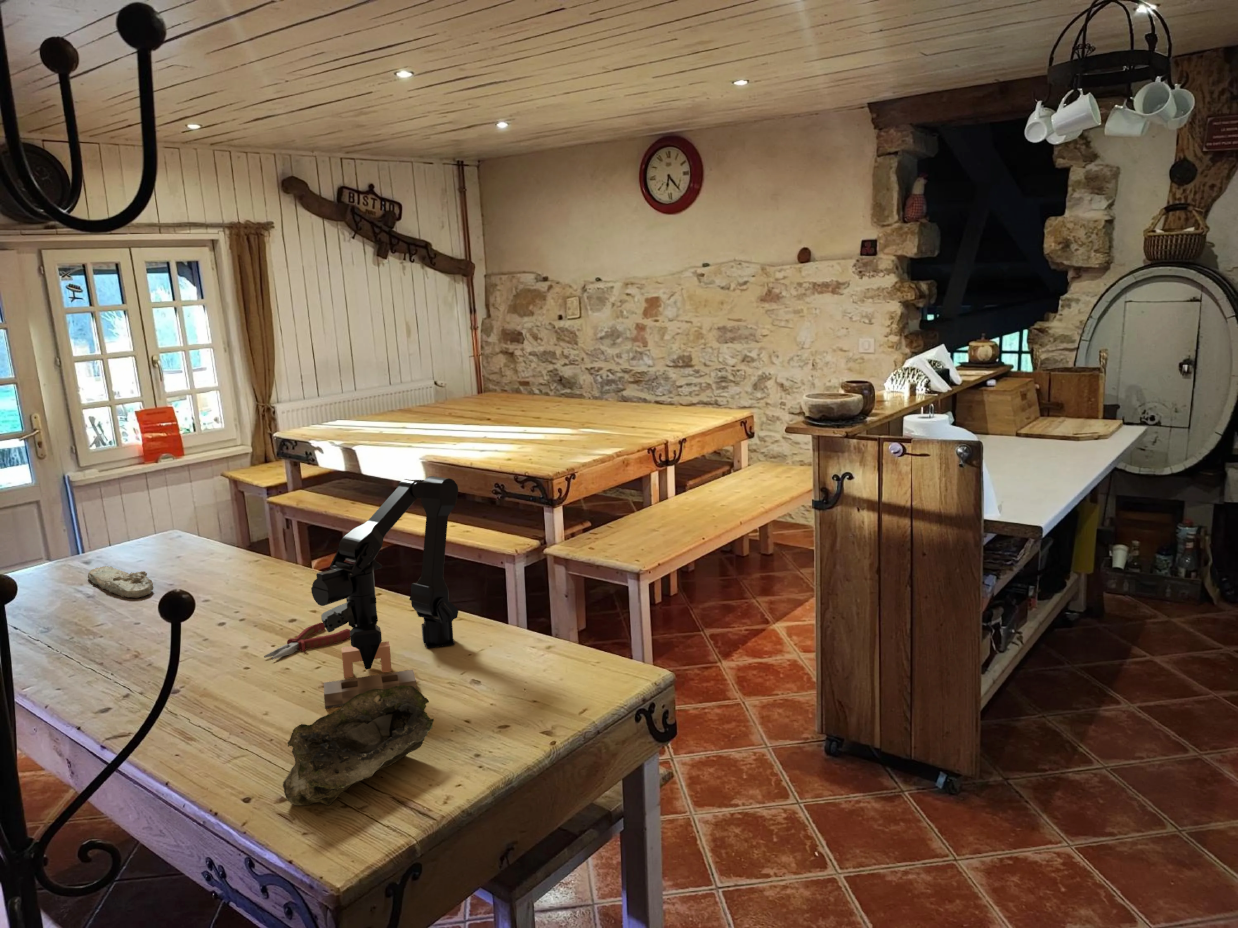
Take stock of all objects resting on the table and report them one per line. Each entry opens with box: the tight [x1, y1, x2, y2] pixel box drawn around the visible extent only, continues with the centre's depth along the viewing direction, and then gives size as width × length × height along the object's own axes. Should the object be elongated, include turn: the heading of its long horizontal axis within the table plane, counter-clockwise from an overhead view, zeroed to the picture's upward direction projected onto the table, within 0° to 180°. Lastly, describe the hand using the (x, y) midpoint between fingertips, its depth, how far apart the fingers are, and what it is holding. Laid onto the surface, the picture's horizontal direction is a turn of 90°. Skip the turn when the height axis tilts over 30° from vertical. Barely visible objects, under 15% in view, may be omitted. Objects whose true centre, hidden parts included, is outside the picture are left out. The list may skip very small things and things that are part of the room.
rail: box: [323, 669, 418, 710], centre depth 185 cm, size 18×6×3 cm, turn 108°
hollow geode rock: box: [282, 685, 435, 807], centre depth 153 cm, size 28×13×15 cm
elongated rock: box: [87, 565, 154, 599], centre depth 261 cm, size 35×5×10 cm
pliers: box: [263, 622, 352, 660], centre depth 212 cm, size 12×20×3 cm, turn 149°
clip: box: [341, 640, 392, 679], centre depth 195 cm, size 10×3×6 cm, turn 108°
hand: (366, 660), depth 196 cm, fingers open, 9 cm apart
